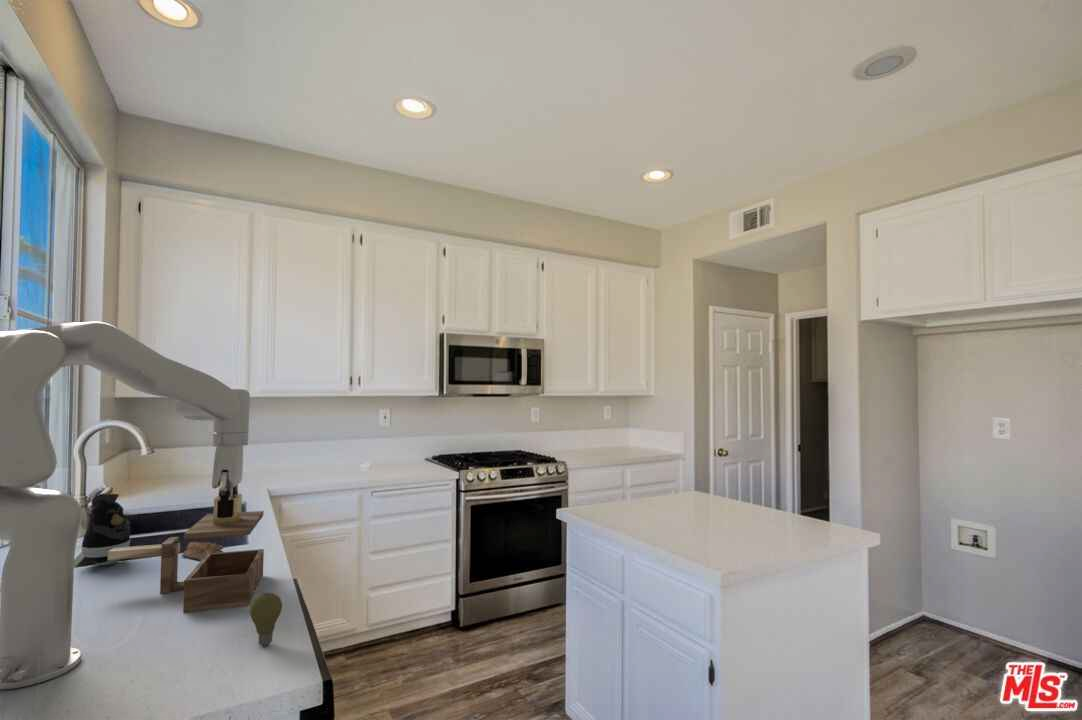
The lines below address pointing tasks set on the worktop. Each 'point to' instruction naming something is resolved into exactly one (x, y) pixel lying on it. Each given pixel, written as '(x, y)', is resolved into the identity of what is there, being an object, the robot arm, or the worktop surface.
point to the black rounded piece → (105, 529)
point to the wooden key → (139, 551)
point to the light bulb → (265, 615)
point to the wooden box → (213, 578)
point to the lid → (225, 522)
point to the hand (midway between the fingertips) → (227, 514)
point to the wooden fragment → (201, 549)
